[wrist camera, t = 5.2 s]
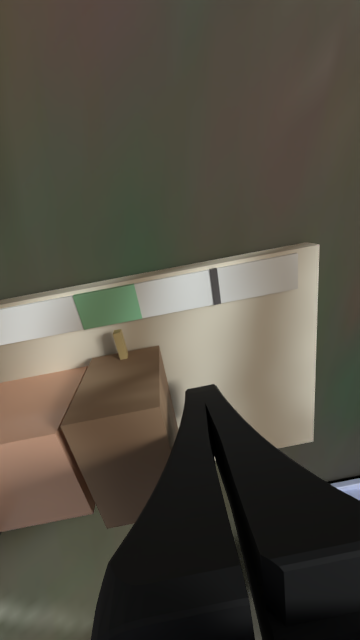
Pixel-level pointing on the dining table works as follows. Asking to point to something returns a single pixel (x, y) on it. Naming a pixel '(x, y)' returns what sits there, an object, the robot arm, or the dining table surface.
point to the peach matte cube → (39, 452)
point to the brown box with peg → (122, 429)
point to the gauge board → (190, 332)
